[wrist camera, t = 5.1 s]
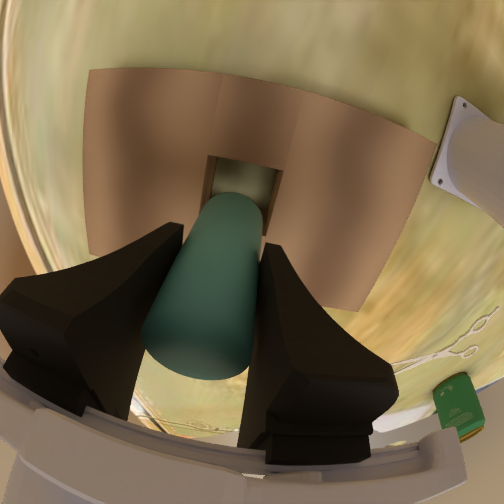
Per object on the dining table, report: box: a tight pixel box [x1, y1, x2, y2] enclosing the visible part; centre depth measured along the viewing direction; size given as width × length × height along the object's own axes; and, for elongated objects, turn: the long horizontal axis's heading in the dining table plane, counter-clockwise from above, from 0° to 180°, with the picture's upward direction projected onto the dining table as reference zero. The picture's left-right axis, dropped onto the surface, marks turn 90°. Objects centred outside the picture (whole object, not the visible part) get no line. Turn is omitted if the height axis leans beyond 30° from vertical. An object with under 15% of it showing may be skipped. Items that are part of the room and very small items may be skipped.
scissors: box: [391, 306, 499, 375], centre depth 30 cm, size 11×1×20 cm
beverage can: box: [433, 373, 485, 443], centre depth 30 cm, size 8×8×12 cm
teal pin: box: [141, 192, 263, 380], centre depth 11 cm, size 3×3×8 cm
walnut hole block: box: [83, 68, 437, 312], centre depth 18 cm, size 22×14×4 cm, turn 78°
